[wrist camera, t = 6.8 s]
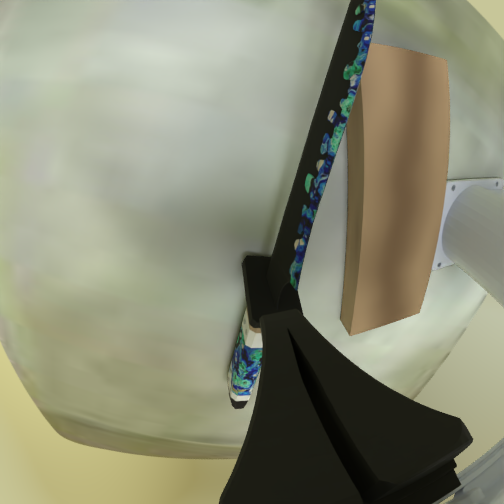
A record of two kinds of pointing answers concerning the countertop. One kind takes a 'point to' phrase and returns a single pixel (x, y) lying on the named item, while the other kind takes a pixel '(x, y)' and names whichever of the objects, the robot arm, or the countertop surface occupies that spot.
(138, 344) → the countertop surface
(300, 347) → the robot arm
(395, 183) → the walnut board
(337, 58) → the knife
